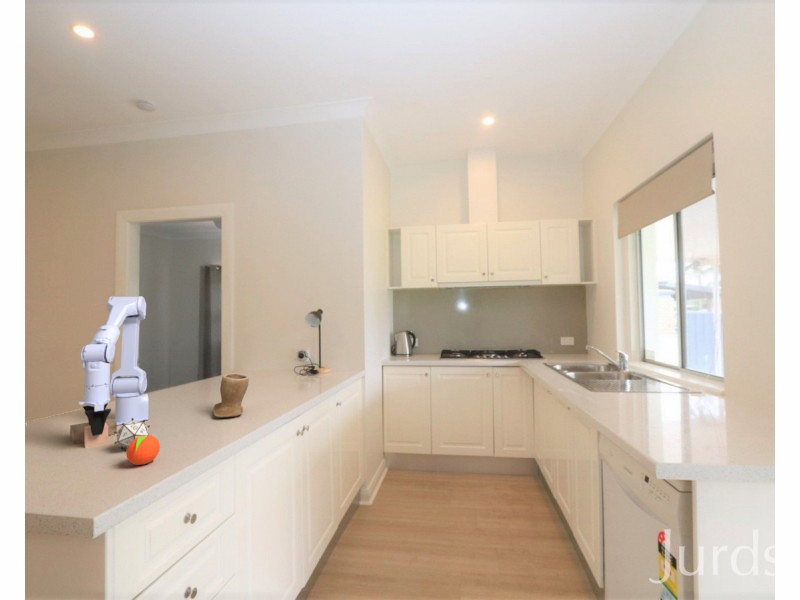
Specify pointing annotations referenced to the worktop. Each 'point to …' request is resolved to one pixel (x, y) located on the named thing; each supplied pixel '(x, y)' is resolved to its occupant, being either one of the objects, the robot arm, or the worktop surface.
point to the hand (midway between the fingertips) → (96, 431)
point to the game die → (131, 432)
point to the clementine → (143, 449)
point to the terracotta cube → (95, 437)
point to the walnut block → (78, 429)
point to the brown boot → (231, 395)
